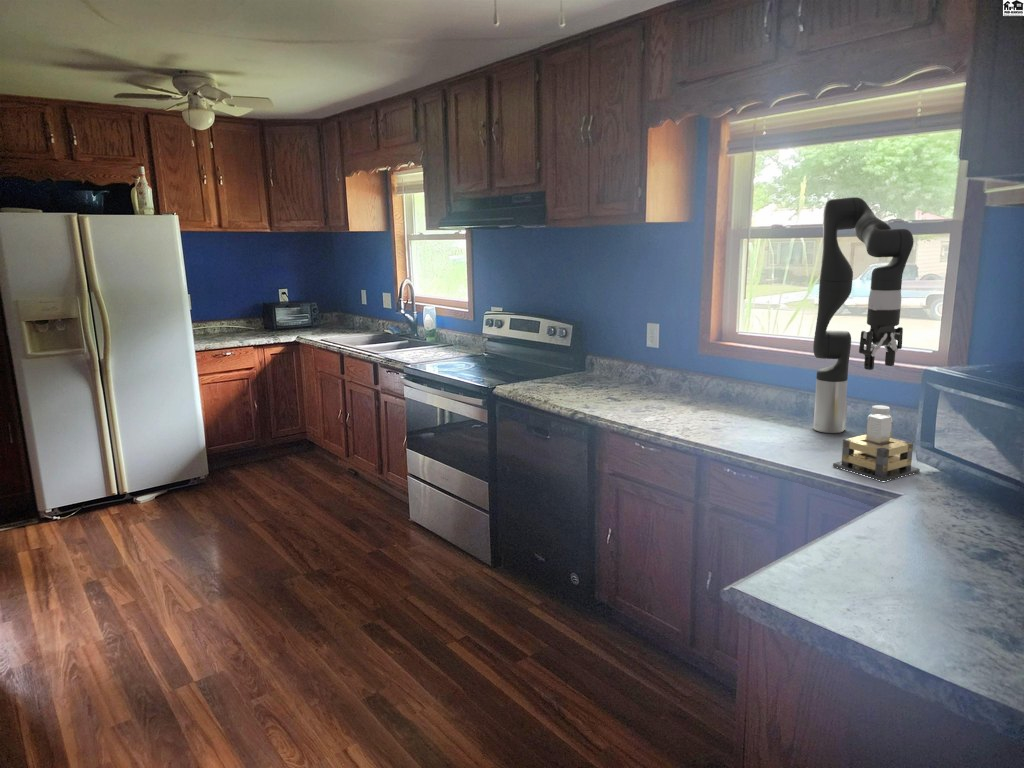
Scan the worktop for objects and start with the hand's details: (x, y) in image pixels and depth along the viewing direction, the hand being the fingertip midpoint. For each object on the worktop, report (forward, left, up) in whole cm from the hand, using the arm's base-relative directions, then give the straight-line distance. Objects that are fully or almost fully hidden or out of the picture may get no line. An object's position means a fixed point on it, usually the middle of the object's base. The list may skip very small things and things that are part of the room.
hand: (879, 367), depth 177 cm
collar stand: (0, +1, -28) cm, 28 cm away
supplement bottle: (-18, -11, -29) cm, 35 cm away
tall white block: (0, +1, -27) cm, 27 cm away
